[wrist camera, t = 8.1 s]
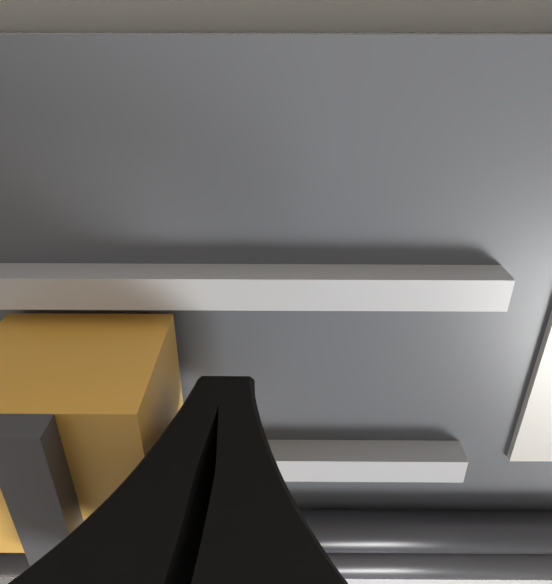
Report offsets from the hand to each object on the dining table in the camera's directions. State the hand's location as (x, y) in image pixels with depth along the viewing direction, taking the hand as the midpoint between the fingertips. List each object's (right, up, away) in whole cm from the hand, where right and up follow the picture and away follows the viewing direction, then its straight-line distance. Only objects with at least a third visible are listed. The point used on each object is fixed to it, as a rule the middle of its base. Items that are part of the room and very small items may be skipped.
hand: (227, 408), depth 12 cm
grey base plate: (-1, +1, +3) cm, 3 cm away
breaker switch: (-3, +1, +1) cm, 3 cm away
